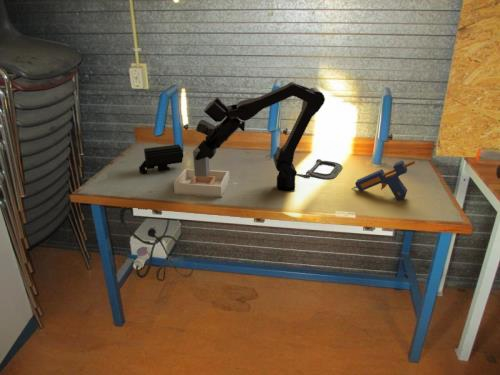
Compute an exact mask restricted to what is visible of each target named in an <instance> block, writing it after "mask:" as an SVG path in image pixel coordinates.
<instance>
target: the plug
mask: <svg viewBox="0 0 500 375" xmlns="http://www.w3.org/2000/svg"><path fill="white" fill-rule="evenodd" d="M199 151H200V149H198V146H196V147H195V148H194V150H193V151H192V155H193V168H194V170H195V176H201V177H207V175H208V174H209V172H210V171H209V170H210V159H209V158H208V157H206V158H203V159H200V160H196V159H195V157H196V156H197V154H198V152H199Z"/></svg>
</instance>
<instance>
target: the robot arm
mask: <svg viewBox="0 0 500 375" xmlns="http://www.w3.org/2000/svg"><path fill="white" fill-rule="evenodd" d="M291 97H296V98H298V99H299V100H302V103H301V110H300V113H299V114H298V117H297V119H296V120H295V122H294V125H293V127H292V128H291V131H290V133H289V135H288V138H287V139H286V141H285V142H284V144H283V146H282V147H279V146H277V147H276V150H275V153H274V154H273V155H272V156H273V163H274V166H275V169H276V171H277V172H278V174H277V176H276V187H277V191H283V192H295V191H296V189H295V188H296V176H297V175H296V174H298V172H297V170H296V167H295V166H294V163H293V162H294V156H295V151H296V149H297V147H298V145H299V143H300V142H301V139H302V138H303V135H304V133H305V131H306V129H307V127H308V126H309V123H310V122H311V120H312V118H313V117H314V116H315V115H316V114H317V113H318V112H319V111H320V109H321V108H322V107H323V105H324V104H325V102H326V98H325V95H324V93H323V92H321V91H320V90H319V89H318V88H317V87H310V88H309V87H306V86H304V85H301V84H297V83H296V82H295V81H294V82H293V81H291V82H288V84H285V85H283V86H281V87H279V88H277V89H275V90H271V91H269V92H267V93H265V94H263V95H261V96H259V97H254V98H248V99H244V100H239V101H238V102H237V103H235V104H231V105H227V104H225V103H223V101H222V100H221V99H220V98H219V97H215V98H214V99H213V100H212V101H210V102H209V103H207V105H206V106H205V108H204V110H203V112H204V113H205V115H207V116H208V117H210V118H211V119H212V120H213V121H214V122H215V123H217V122H218V123H219V124H217V125H215V124H212V123H211V122H209V121H206V120H205V119H200V121H199V122H198V123H197V126H196V128H195V131H197V132H198V133H200V134H203V135H204V136H205V140H204V139H203V140H202V141H201V142H200V143H199V144H198V146H197V147H198V149H200V151H199V152H198V154H197V156H196V157H195V159H196V160H200V159H203V158H206V157H208V158H209V160H212V159H213V158H214V156H215V155H216V154H217V149H219V148H220V147H221V146H222V145H223V144H224V143H225V142H227V141H228V140H229V138H230V137H231V136H232V135H233V134H234V133H235V132H236V131H237V130H238V129H239V130H241V131H242V132H245V129H246V121H248V120H250V119H252V118H253V117H255V116H256V115H258V113H260V112H261V111H262V110H264V109H266V108H269V107H271V106H273V105H276V104H277V103H280V102H282V101H285V100H287V99H289V98H291Z"/></svg>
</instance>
